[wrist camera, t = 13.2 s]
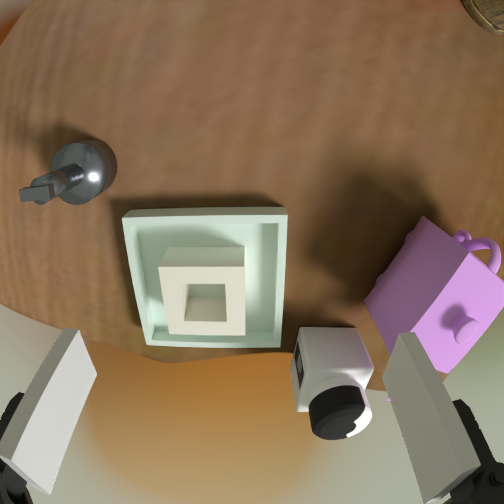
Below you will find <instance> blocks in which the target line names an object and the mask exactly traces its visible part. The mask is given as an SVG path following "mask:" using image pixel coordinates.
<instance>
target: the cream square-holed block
mask: <svg viewBox="0 0 504 504" xmlns="http://www.w3.org/2000/svg"><path fill="white" fill-rule="evenodd" d="M158 270H159V277H160V283H161V289H162V296H163V302H164V307H165V313H166V319H167V324H168V330H169V334H182V335H200V336H218V335H245V318H246V305H245V246H226V247H168V249H167V251H166V253H165V255H164V256H163V258H162V260H161V262H160V264H159V266H158ZM189 284H225V293H226V297H190V289H189Z"/></svg>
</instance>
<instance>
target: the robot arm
mask: <svg viewBox="0 0 504 504" xmlns="http://www.w3.org/2000/svg"><path fill="white" fill-rule="evenodd" d="M96 376H97V373H96V371H95V368H94V366H93V364H92V361H91V359H90V357H89V354H88V352H87V349H86V347H85V344H84V342H83V339H82V337H81V334H80V331H79V330H78V329H70V328H64V329H63V331H62V333H61V334H60V336H59V337H58V339H57V340H56V342H55V343H54V345H53V347H52V349H51V350H50V352H49V353H48V355H47V356H46V358H45V360H44V361H43V363H42V365H41V366H40V368H39V370H38V372H37V373H36V375H35V377H34V378H33V380H32V382H31V384H30V385H29V387H28V389H27V391H26V392H25V394H24V393H20V392H19V393H18V394H17V395H15V396H14V397H13V398H12V399H11V400H10V402H9V404H8V405H7V407H6V409H5V412H4V413H3V415H2V417H1V420H0V504H33V502H32V499H31V497H30V494H29V491H28V490H27V488H26V484H27V482H28V483H29V484H30V485H31V486H32V487H34V488H35V489H37V490H40V491H42V492H44V493H47V494H51V492H52V489H53V486H54V483H55V480H56V477H57V474H58V471H59V468H60V465H61V462H62V460H63V457H64V454H65V451H66V449H67V446H68V443H69V441H70V438H71V436H72V433H73V430H74V428H75V425H76V423H77V420H78V418H79V415H80V413H81V410H82V408H83V406H84V403H85V401H86V399H87V396H88V394H89V392H90V389H91V387H92V385H93V382H94V380H95V378H96ZM382 380H383V383H384V385H385V388H386V391H387V393H388V396H389V399H390V401H391V404H392V407H393V410H394V412H395V415H396V418H397V421H398V424H399V426H400V429H401V432H402V435H403V438H404V441H405V444H406V447H407V450H408V453H409V456H410V459H411V462H412V465H413V469H414V472H415V475H416V478H417V482H418V485H419V488H420V492H421V495H422V499H423V502H424V504H428V503H431V502H433V501H436V500H439V499H442V498H443V497H444V496H446V495H447V494H448V493H449V492H450V495H451V498H450V499H448V500H447V501H446V502H444V503H443V504H504V464H503V463H499V462H496V461H495V459H494V457H493V455H492V453H491V451H490V449H489V446H488V444H487V442H486V440H485V438H484V436H483V433H482V431H481V429H479V425H478V423H477V421H475V417H474V415H473V413H472V411H471V409H470V407H469V406H467V405H466V404H465V403H464V402H463V401H462V400H461V399H459V400H455V401H451V398H450V396H449V394H448V392H447V391H446V388H445V387H444V385H443V383H442V381H441V379H440V377H439V375H438V373H437V371H436V369H435V368H434V366H433V364H432V362H431V360H430V358H429V357H428V355H427V353H426V351H425V349H424V348H423V346H422V344H421V342H420V341H419V339H418V337H417V335H416V334H415V332H409V333H399V335H398V337H397V340H396V343H395V346H394V349H393V351H392V354H391V356H390V359H389V362H388V364H387V367H386V369H385V372H384V374H383V377H382Z"/></svg>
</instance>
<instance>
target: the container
mask: <svg viewBox="0 0 504 504" xmlns="http://www.w3.org/2000/svg"><path fill="white" fill-rule="evenodd" d="M290 370H291V377H292V384H293V391H294V398H295V406H296V411H298V412H309V416H310V421H311V428H312V431H313V433H314V434H315V435H316V436H318V437H320V438H322V439H326V440H338V439H344V438H347V437H350V436H353V435H355V434H357V433H358V432H360V431H361V430H363V429H364V428H365V427H366V426H367V425H368V423H369V422H370V419H371V417H372V412H371V409H370V406H369V403H368V400H367V397H366V394H365V391H364V390H365V388H366V385H367V383H368V381H369V379H370V377H371V375H372V372H373V370H374V367H373V364H372V362H371V359H370V357H369V355H368V352H367V350H366V347H365V345H364V343H363V340H362V338H361V336H360V333H359V331H358V329H357V328H332V327H300V329H299V333H298V337H297V342H296V347H295V351H294V356H293V360H292V364H291V369H290Z"/></svg>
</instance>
